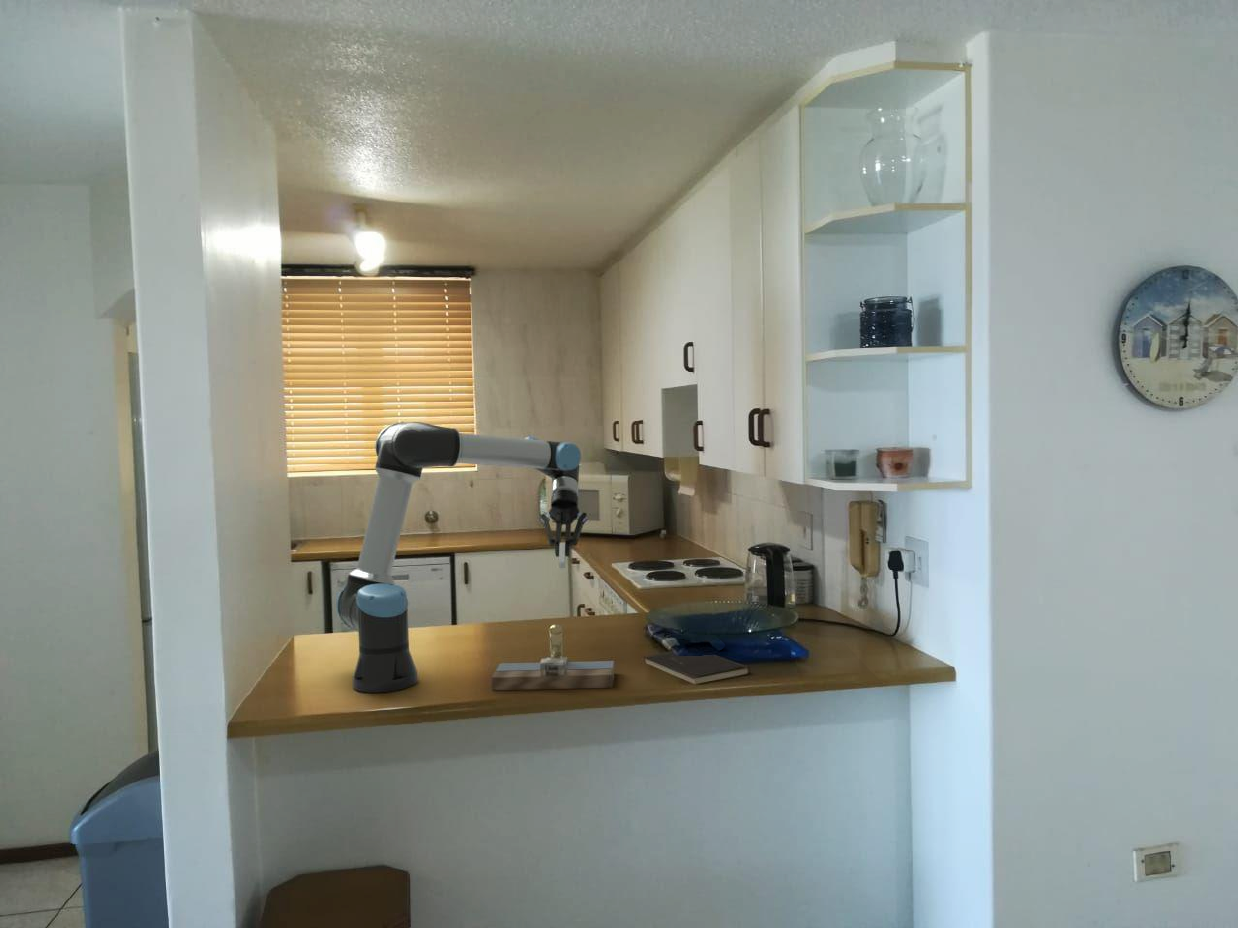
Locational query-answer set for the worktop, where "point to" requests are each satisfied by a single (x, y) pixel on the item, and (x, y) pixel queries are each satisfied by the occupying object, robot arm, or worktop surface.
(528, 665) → the latch base plate
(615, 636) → the worktop surface
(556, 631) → the bolt
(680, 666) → the hardcover book
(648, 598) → the worktop surface
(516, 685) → the block
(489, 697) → the worktop surface
